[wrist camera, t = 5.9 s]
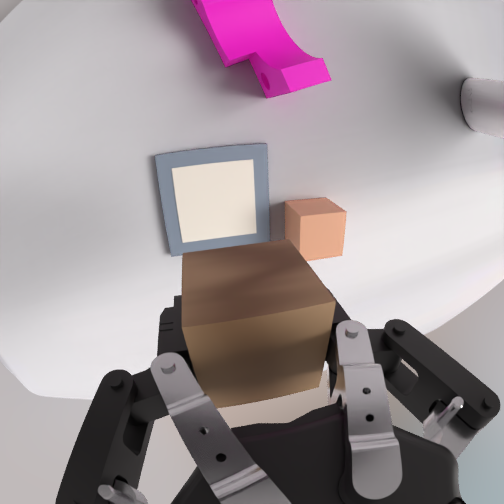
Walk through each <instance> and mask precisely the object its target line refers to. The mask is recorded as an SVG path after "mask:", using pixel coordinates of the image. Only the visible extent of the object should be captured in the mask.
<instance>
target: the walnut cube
mask: <svg viewBox="0 0 504 504" xmlns="http://www.w3.org/2000/svg"><path fill="white" fill-rule="evenodd" d="M335 304H336V300H335V299H334V298H333V296H332V295H331V294H330V292H329V291H328V290H327V288H326V287H325V286H324V284H323V283H322V281H321V280H320V279H319V277H318V276H317V275H316V274H315V272H314V271H313V270H312V268H311V267H310V266H309V264H308V263H307V262H306V260H305V259H304V258H303V256H302V255H301V254H300V253H299V251H298V250H297V249H296V247H295V246H294V245H293V243H292V242H291V241H290V240H289V239H285V240H277V241H270V242H262V243H254V244H247V245H239V246H231V247H224V248H216V249H209V250H201V251H194V252H187V253H183V257H182V330H183V334H184V338H185V341H186V345H187V348H188V351H189V355H190V358H191V361H192V365H193V368H194V371H195V374H196V377H197V380H198V384H199V386H200V388H201V389H202V391H203V392H204V394H207V395H208V396H209V398H210V399H211V401H212V402H213V404H214V405H215V407H216V408H222V407H229V406H236V405H242V404H247V403H252V402H258V401H262V400H268V399H273V398H277V397H282V396H286V395H290V394H294V393H298V392H302V391H305V390H310V389H313V388H316V387H319V384H320V380H321V376H322V371H323V367H324V362H325V357H326V353H327V348H328V343H329V338H330V333H331V327H332V322H333V316H334V310H335Z"/></svg>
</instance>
